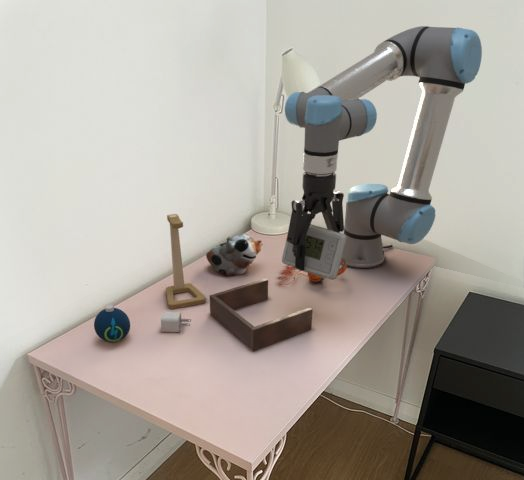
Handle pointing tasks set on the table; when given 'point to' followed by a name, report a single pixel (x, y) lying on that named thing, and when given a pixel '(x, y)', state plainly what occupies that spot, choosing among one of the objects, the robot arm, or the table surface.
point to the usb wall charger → (173, 322)
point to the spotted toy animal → (234, 254)
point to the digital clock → (319, 252)
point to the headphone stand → (179, 270)
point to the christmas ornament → (112, 324)
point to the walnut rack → (245, 331)
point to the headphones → (311, 276)
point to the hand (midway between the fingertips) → (314, 263)
